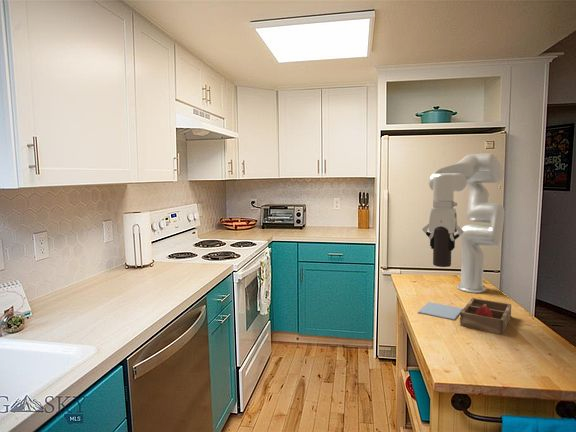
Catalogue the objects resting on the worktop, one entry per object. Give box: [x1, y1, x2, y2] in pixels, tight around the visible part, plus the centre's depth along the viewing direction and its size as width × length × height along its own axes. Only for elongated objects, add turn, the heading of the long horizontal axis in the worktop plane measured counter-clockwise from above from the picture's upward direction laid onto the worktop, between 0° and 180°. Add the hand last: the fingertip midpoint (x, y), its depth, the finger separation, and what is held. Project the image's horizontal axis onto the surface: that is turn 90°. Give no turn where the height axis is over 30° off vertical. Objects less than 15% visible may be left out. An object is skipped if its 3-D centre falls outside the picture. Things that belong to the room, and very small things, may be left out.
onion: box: [475, 304, 493, 318], centre depth 140 cm, size 6×6×8 cm
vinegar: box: [432, 220, 452, 268], centre depth 152 cm, size 7×7×20 cm
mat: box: [417, 301, 464, 321], centre depth 156 cm, size 14×14×1 cm
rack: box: [459, 297, 512, 335], centre depth 144 cm, size 20×14×5 cm
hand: (442, 248), depth 153 cm, fingers closed on vinegar, 6 cm apart
